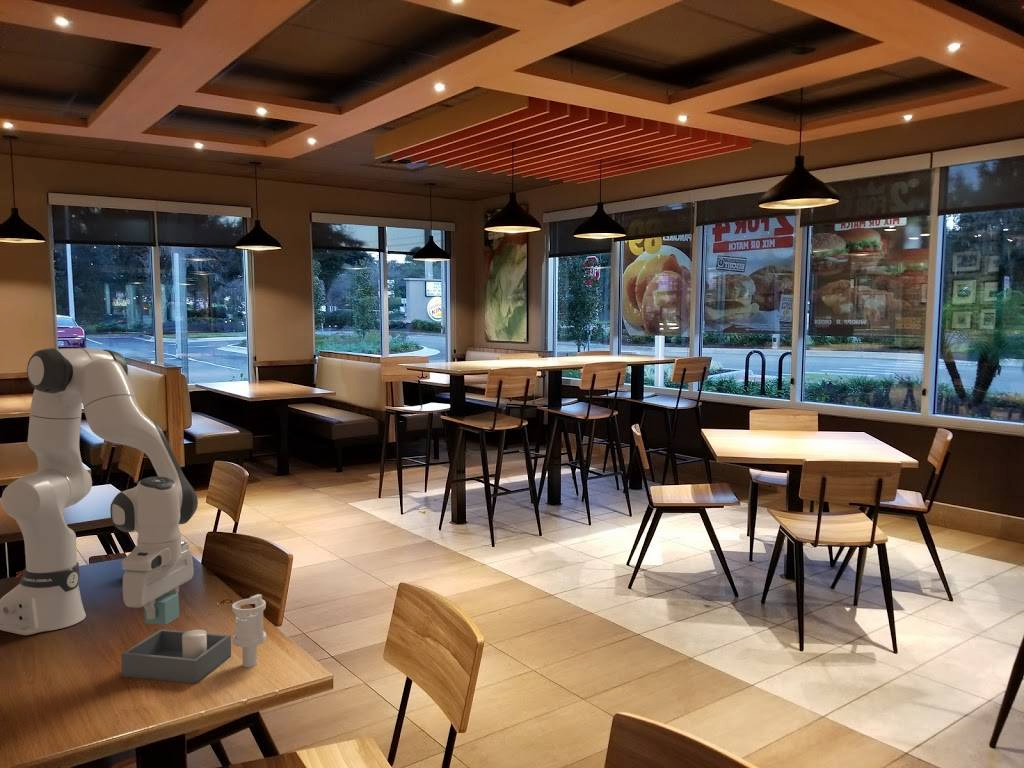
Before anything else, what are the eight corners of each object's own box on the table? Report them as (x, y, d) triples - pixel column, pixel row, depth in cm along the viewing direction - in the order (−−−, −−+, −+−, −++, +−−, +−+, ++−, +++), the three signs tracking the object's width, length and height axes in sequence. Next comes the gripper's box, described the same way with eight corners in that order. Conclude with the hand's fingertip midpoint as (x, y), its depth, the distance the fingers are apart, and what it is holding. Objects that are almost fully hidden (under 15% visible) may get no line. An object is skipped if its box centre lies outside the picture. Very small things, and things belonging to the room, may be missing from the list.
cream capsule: (177, 668, 168) (177, 637, 167) (191, 659, 173) (190, 628, 172) (198, 670, 167) (198, 639, 166) (211, 660, 172) (211, 630, 171)
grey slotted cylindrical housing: (273, 661, 173) (272, 596, 172) (250, 673, 167) (249, 606, 166) (249, 655, 176) (248, 591, 175) (226, 667, 170) (225, 601, 169)
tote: (122, 676, 165) (121, 653, 165) (161, 650, 179) (160, 629, 178) (196, 683, 162) (196, 660, 162) (231, 656, 176) (230, 635, 175)
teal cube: (165, 624, 167) (164, 602, 167) (144, 623, 168) (144, 600, 168) (179, 616, 172) (178, 594, 172) (159, 614, 173) (158, 593, 173)
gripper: (175, 537, 180) (176, 595, 181) (115, 564, 160) (118, 629, 161) (199, 539, 179) (201, 597, 180) (143, 566, 159) (145, 631, 160)
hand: (161, 612), depth 170 cm, fingers closed on teal cube, 5 cm apart
